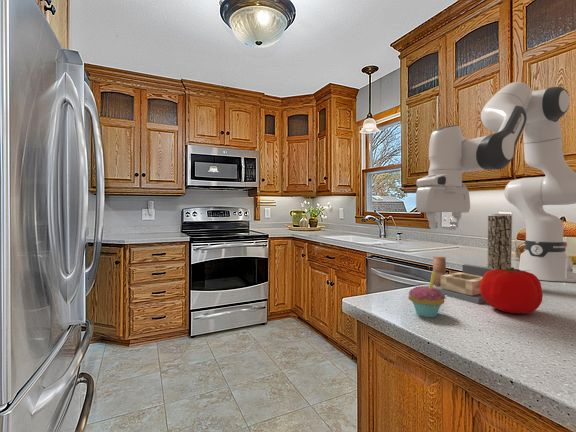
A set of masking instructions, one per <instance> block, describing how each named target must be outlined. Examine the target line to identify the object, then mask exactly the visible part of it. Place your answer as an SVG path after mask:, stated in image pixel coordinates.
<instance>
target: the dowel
mask: <svg viewBox="0 0 576 432" xmlns="http://www.w3.org/2000/svg"><path fill="white" fill-rule="evenodd" d="M446 259H447V258H446V256H441V255H434V256H432V272H433V271H434V269H435V271H434V272H435V275H434V280H433V286H434V285H435V287H440V286H441V275H447V273H446V269H447V268H446V267H447V266H446V265H447V263H446V262H447V261H446Z"/></svg>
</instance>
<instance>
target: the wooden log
mask: <svg viewBox="0 0 576 432" xmlns="http://www.w3.org/2000/svg"><path fill="white" fill-rule="evenodd" d="M512 217H513V215H512V214H511V213H488V215H487V268H494V269H507V268H509V269H511V267H512V243H513V242H512V238H513V237H512V232H513V228H512V227H513V224H512V223H513V222H512V221H513V220H512V219H513V218H512Z"/></svg>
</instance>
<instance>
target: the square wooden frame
mask: <svg viewBox="0 0 576 432" xmlns="http://www.w3.org/2000/svg"><path fill="white" fill-rule="evenodd" d="M482 278H483V276H478V275H472V274H467V273H462V272H460V271H459V272H453V273H448V274H447V273H446V275H441V286H440V288H442V289H446V290H450V291H455V292H459V293H463V294H467V295H471V296H473V295H477V294H481V292H480V282H481V280H482Z"/></svg>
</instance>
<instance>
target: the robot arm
mask: <svg viewBox="0 0 576 432" xmlns="http://www.w3.org/2000/svg"><path fill="white" fill-rule="evenodd" d="M570 101H571V100H570V95H569V92H568V90H567V89H565V88H564V87H562V86H550V87H547V88H545V89H538V90H532V88H531V86H530V85H529V84H527V83H525V82H522V81H515V82H514V81H513V82H511V83H508V84H506V85H505V86H503V87H502V88H500V89H499V90H498V91H497V92H496V93H494V95H493V96H492V97H491V98H490V99H489V100H488V101H487V102H486V103H485V104H484V106H483V108H482V109H481V113H480V121H481V122H482V125H483V126H484V127H485V128H486V129H487V130H489V131H491V132H493V133H491V134H488V135H483V136H479V137H475V138H470V139H468V138H467V137H465V136H464V135H462V131H461V127H460V125H457V124H456V125H455V124H453V125H451V124H450V125H447V126H443V127H439V128H436V129H435V130H433V131H432V132H431V135H430V137H429V138H430V139H429V143H428V160H429V168H428V171H427V172H428V174H427V175H425V176H423V177H421V178H418V179H416V182H415V183H416V184H415V185H416V187H418V188H417V189H416V192H415V207H416V211H417V212H419V213H425V214H426V215H425V217H426V219H427V221H428V226H429V229H438V227H439V222H437V221H436V218H435V217H436V216H437V213H451V221H450V222H449V227H450V228H451V229H452V228H453V229H455V228H456V229H458V228H459V222H460V220H461V218H462V213H466V214H467V213H469V212H470V209H471V198H470V192H469V190H468V187H467V186H466V184H465V183H464V182H463V180H462V179H463V173H468V172H470V173H471V172H477V171H486V170H487V171H488V170H489V171H490V170H491V171H493V170H494V171H495V170H502V169H504V168H506V167H507V166H508V165H509V164H510V163H511V162H512V160H513V158H514V156H515V151H516V147H517V144H518V142H519V140H520V138H521V135H523V136H522V137H523V138H522V139H523V141H522V142H523V156H524V157H523V158H524V162H525V164H527V166H529V167H531V168H533V169H538V170H540V171H541V172H542V173H544V175H545V176H535V177H522V178H517V179H513V180H510V181H509V182H507V184H506V185H505V187H504V192H503V193H504V197H505V200H506V201H507V202H508V203H509V204H510V205H513V206H514V207H516V209H517V210H518V211H519V212H520V213H521V215H522V217H523V219H524V222H525V223H524V224H525V240H524V244H523V245H524V251H523V252H521V253H520V258H519V268H518V269H519V270H520V271H521V270H522V271H526V272H529V273H532V274H534V275H535V276H536V277H537V278H538V280H539V281H548V282H564V283H566V282H567V283H576V272H573V271H574V266H573V265H574V263H573V260H572V259H571V258H570V257H569V256H568V255H567V253H566V252H567V251H566V248H567V247H568V243H567V242H566V241H564V222H563V221H562V219H561V218H559V216H556V215H553V214H550V213H548V212H546V211H545V210H544V206H563V205H564V206H566V205H575V204H576V171H575V170H573V169H572V168H571V167H570V166H569V165H568V163H567V162H566V159H565V156H564V150H563V138H562V136H563V135H562V134H563V133H562V127H561V122H560V119H561V118H562V117H564V115H565V114H566V113H567V112H568V110H569V107H570ZM527 270H529V271H527Z"/></svg>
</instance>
